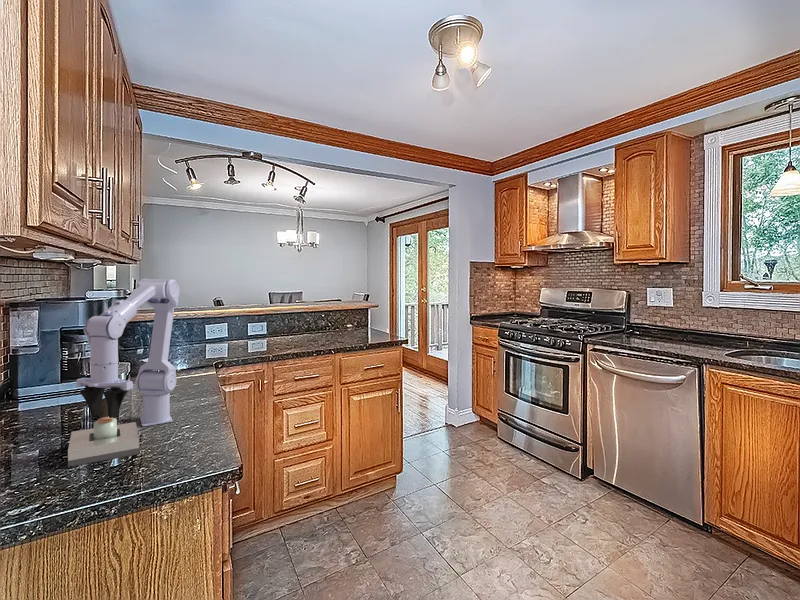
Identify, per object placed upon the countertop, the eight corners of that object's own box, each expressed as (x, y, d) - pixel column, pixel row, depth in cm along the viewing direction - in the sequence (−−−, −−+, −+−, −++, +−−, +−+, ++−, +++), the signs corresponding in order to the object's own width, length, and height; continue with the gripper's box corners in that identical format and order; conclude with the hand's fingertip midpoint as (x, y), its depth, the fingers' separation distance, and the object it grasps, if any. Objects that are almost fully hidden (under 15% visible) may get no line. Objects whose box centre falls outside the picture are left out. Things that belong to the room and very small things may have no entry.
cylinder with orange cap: (107, 439, 108) (106, 414, 108) (121, 441, 107) (121, 416, 107) (89, 446, 104) (88, 420, 103) (104, 449, 102) (103, 423, 102)
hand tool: (105, 405, 143) (105, 392, 142) (119, 404, 144) (118, 391, 144) (89, 423, 125) (89, 408, 125) (105, 421, 127) (105, 406, 127)
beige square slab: (71, 446, 107) (71, 431, 107) (135, 436, 115) (135, 422, 115) (68, 467, 95) (67, 450, 95) (139, 453, 104) (139, 438, 103)
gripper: (64, 364, 101) (65, 418, 102) (116, 367, 99) (116, 423, 100) (90, 359, 108) (91, 410, 109) (139, 362, 106) (139, 414, 107)
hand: (104, 415), depth 105 cm, fingers open, 4 cm apart
